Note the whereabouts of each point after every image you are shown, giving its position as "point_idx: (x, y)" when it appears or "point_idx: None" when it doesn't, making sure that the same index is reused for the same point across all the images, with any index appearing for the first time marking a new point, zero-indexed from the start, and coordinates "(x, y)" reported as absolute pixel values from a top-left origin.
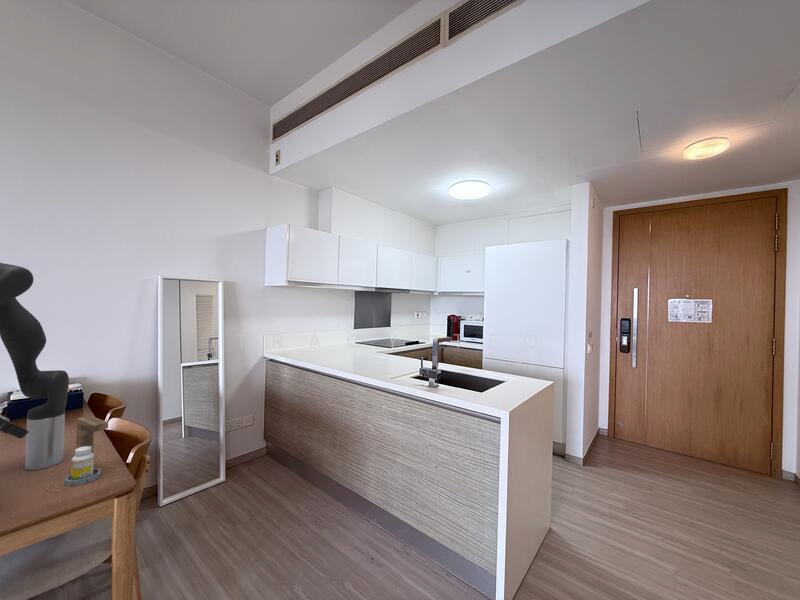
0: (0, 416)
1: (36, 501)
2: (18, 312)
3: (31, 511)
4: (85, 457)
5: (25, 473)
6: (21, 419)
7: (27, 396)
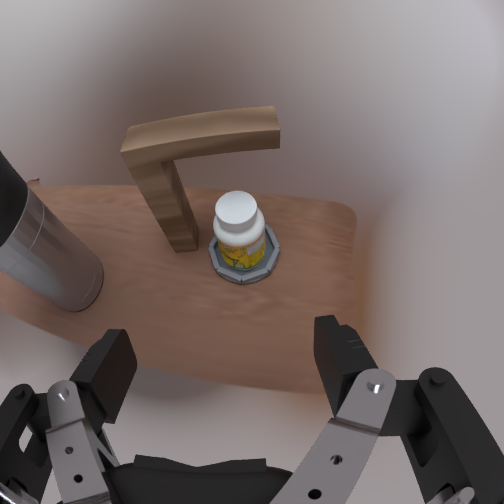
0: (344, 497)
1: (287, 342)
2: None
3: None
4: (262, 219)
5: (92, 318)
6: None
7: None
